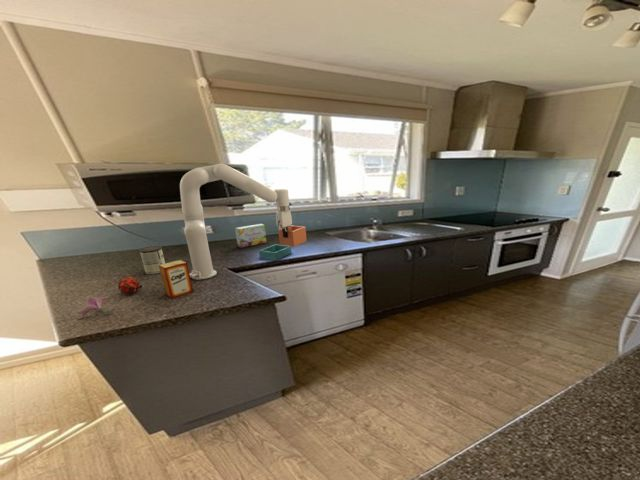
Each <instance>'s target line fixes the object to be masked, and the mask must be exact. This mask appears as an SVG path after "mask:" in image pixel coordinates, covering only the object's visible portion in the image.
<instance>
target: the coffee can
mask: <svg viewBox="0 0 640 480" xmlns="http://www.w3.org/2000/svg"><path fill="white" fill-rule="evenodd" d="M138 252H139V254H140V257H141V261H142V264H143V268H144V273H145V274H146V275H155V274H159V273H160V274H161V272H160V269H159V265H162V264H166V262H165V256H164V253H163V248H162V246H161V245H151V246H145V247H142V248H139V250H138Z"/></svg>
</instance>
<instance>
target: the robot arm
mask: <svg viewBox="0 0 640 480" xmlns="http://www.w3.org/2000/svg"><path fill="white" fill-rule="evenodd" d="M215 181H216V182H217V181H223V182H225V183H227V184H229V185H232V186H233V187H235V188H237V189H239V190H242V191H244V192H245V193H249V194H251V195H254V196H255V197H257V198H259V199H261V200H264V201H265V202H267V203H275V204H276V213H275V223H276V227H277V228H278V230H282V232H283V237H284V238H288V233H287V231H289V228H290V227H291V226H293V217H292V213H291V209H290V208H291V207H290V198H289V190H288V188H286V187H278V188H273V187H272V188H271V187H269V186H267V185H264V184H262V183H261V182H259V181H257V180H255V179H254V178H253V177H250V176H249V175H247V174H245V173H243V172H241V171H239V170H237V169H235V168H233V167H231V166H229V165H228V164H226V163H223V162H222V163H215V164H211V165H205V166H199V167H195V168H193V169H191V170H189V171H188V172H185V174H184V175H182V177H181V179H180V182H179V192H180V193H179V194H180V202H181V212H182V214H183V221H184V229H183V230H184V237H185V241H186V244H187V249H188V252H189V256H190V261H191V266H192V270H191V272H189V275H190V279H192V280H197V281H199V280H200V281H201V280H206V279H210V278H213V277H215V276H217V275H218V272H217V270H215V269H214V267H213V261H212V257H211V252H210V247H209V246H210V245H209V242H208V236H207V230H206V223H205V215H204V208H203V205H202V202H201V194H200V193H201V192H200V188H201V187H202V186H203V185H206V184H207V183H211V182H212V183H213V182H215Z"/></svg>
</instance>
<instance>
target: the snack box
mask: <svg viewBox="0 0 640 480" xmlns="http://www.w3.org/2000/svg"><path fill="white" fill-rule="evenodd" d="M265 225H266V224H263V223H256V224H251V225H245V226H237V227H235V228H234V230H235V231H234V232H235V237H236V244H237V247H238V248H240V249H243V248H247V247H252V246H257V245H262V244H265V243H267V234H266V226H265Z"/></svg>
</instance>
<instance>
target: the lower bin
mask: <svg viewBox="0 0 640 480" xmlns="http://www.w3.org/2000/svg"><path fill="white" fill-rule="evenodd" d="M258 254H259V258H260V259H266V260H273V261H277V260H280V259H282V258H283V257H286V256H289V255H290V254H292V246H285V245H280V244H277V243H276V244H273V245H270V246H267V247H264V248H262V249H259V250H258Z"/></svg>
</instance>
